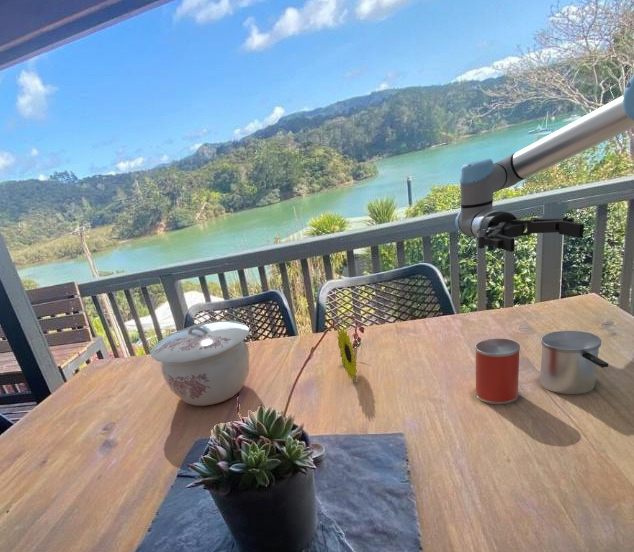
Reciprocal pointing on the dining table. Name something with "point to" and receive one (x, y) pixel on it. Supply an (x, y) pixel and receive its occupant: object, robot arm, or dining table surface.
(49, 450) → the dining table surface
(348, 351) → the decorative plant
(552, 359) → the steel pot
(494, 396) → the tin can
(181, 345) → the chamber pot
